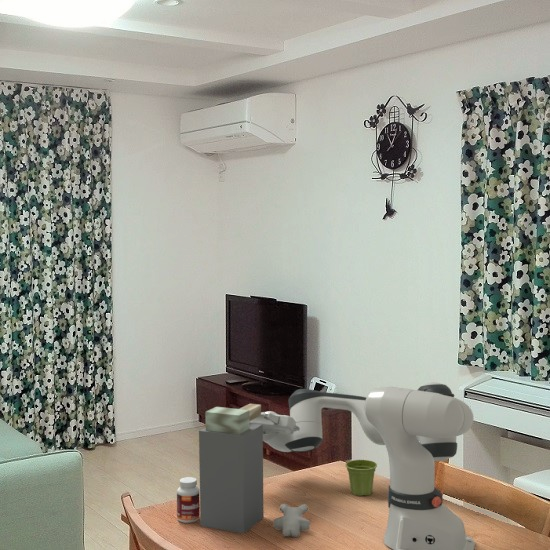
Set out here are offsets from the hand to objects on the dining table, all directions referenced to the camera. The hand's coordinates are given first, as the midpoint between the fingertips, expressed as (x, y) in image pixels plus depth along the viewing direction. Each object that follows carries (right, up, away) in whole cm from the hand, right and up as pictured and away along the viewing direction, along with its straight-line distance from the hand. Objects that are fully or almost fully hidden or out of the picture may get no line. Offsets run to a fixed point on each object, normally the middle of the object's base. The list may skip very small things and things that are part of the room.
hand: (251, 413), depth 226 cm
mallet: (-3, -1, -8) cm, 8 cm away
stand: (-5, -28, -10) cm, 30 cm away
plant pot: (+32, -26, +11) cm, 43 cm away
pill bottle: (-17, -28, -8) cm, 34 cm away
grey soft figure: (+11, -28, -15) cm, 34 cm away
